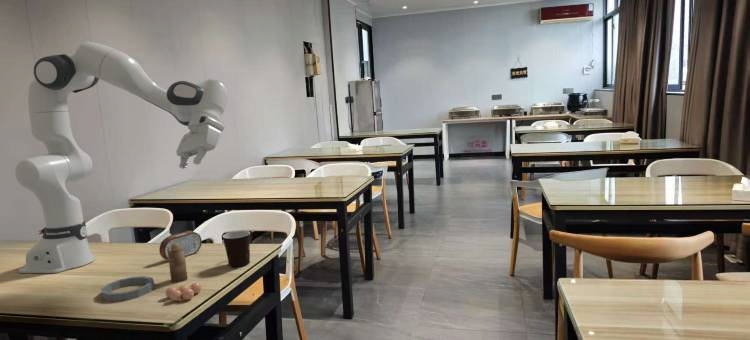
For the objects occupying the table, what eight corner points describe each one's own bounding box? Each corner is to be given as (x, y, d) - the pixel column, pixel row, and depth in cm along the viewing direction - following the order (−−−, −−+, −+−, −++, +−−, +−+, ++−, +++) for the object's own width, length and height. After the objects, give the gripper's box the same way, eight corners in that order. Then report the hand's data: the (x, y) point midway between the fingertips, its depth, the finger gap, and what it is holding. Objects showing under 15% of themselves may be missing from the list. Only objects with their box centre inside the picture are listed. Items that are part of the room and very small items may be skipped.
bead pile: (160, 304, 131) (159, 293, 130) (171, 293, 138) (169, 282, 138) (194, 301, 131) (193, 290, 130) (203, 290, 138) (202, 280, 138)
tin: (199, 250, 178) (196, 227, 177) (204, 251, 176) (201, 228, 175) (160, 263, 166) (157, 239, 165) (165, 264, 164) (162, 240, 163)
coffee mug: (245, 269, 154) (242, 238, 153) (220, 268, 156) (217, 238, 155) (261, 256, 166) (258, 228, 164) (238, 256, 167) (234, 228, 166)
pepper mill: (168, 283, 146) (164, 245, 144) (174, 277, 151) (169, 241, 149) (184, 281, 146) (179, 244, 145) (189, 276, 151) (185, 240, 149)
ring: (92, 302, 135) (91, 295, 134) (116, 284, 148) (115, 278, 147) (142, 299, 135) (141, 292, 135) (161, 281, 148) (160, 274, 148)
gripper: (179, 128, 162) (165, 166, 157) (210, 115, 148) (195, 156, 143) (196, 136, 166) (183, 173, 161) (227, 125, 152) (214, 165, 147)
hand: (189, 165), depth 152 cm, fingers open, 8 cm apart
